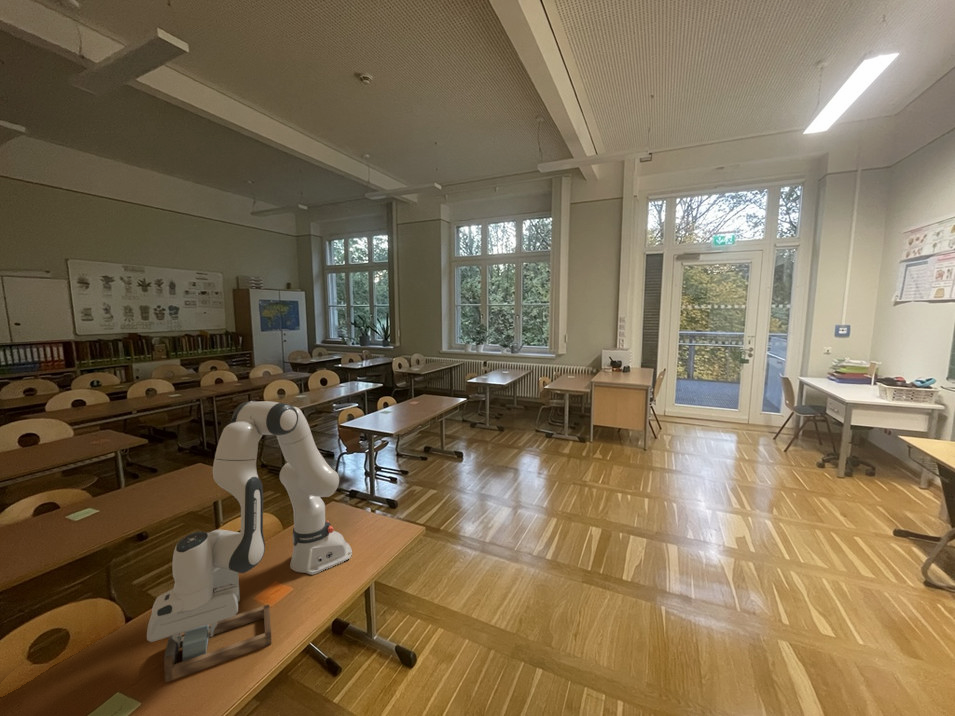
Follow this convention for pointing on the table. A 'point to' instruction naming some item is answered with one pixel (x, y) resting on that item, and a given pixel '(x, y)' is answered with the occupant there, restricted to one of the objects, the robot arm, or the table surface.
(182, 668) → the bay
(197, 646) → the grey boxy piece
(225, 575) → the skincare box
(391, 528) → the table surface
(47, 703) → the table surface
